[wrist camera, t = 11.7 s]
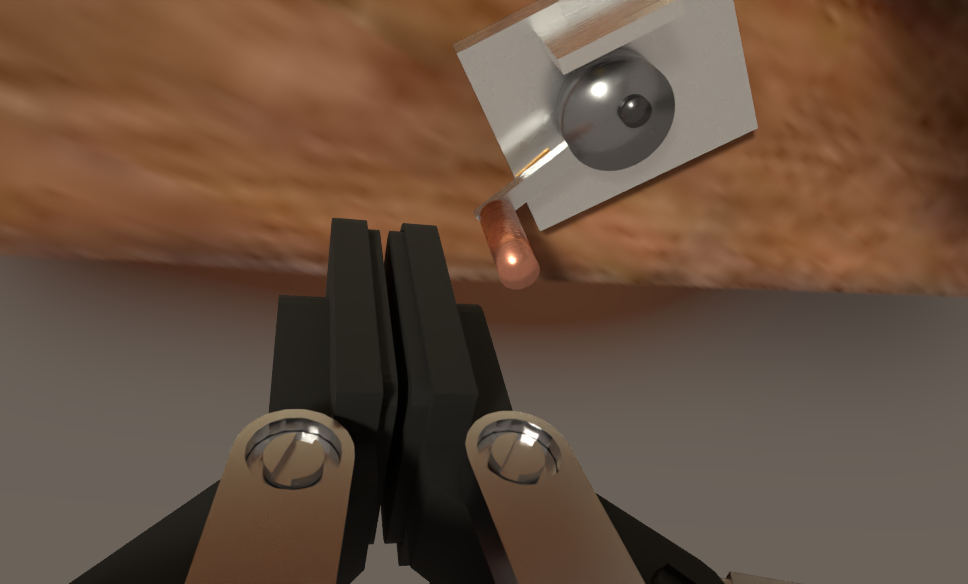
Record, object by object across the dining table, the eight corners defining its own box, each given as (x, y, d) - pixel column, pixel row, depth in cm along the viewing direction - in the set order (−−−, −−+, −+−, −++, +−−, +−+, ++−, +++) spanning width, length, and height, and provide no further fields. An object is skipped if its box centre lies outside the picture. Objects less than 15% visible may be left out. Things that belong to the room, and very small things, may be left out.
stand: (704, -86, 35) (763, -64, 30) (745, 118, 42) (798, 160, 37) (452, 44, 36) (471, 84, 32) (534, 219, 44) (559, 272, 39)
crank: (628, 25, 36) (690, 76, 30) (680, 110, 39) (745, 171, 33) (443, 173, 39) (465, 246, 33) (506, 240, 42) (537, 318, 36)
